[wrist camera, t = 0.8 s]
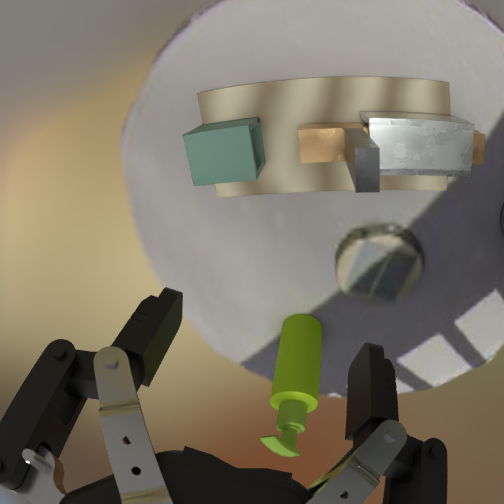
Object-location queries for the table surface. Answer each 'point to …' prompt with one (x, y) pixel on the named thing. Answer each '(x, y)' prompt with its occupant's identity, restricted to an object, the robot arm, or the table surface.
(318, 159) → the inner bar
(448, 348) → the table surface
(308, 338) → the soap dispenser
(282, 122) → the base board
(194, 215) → the table surface
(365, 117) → the outer sleeve
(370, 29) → the table surface
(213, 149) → the socket block
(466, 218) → the table surface
